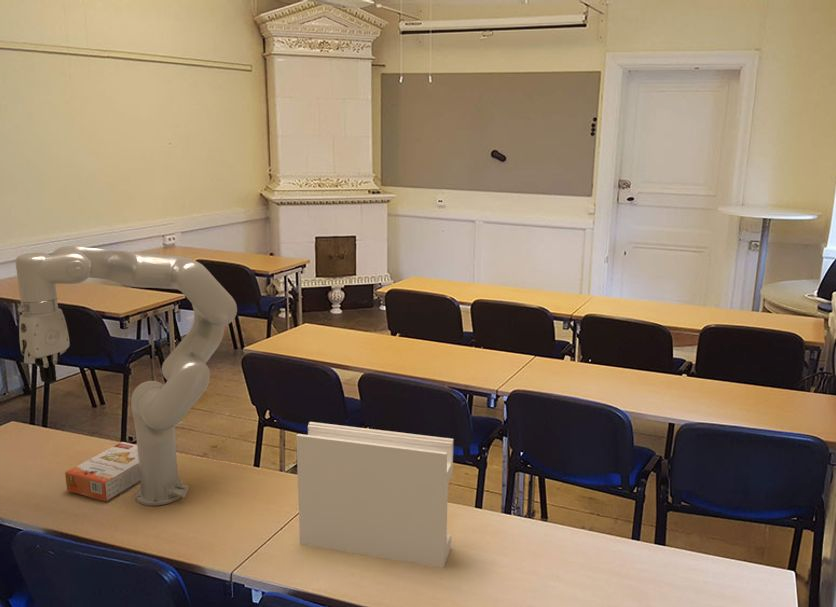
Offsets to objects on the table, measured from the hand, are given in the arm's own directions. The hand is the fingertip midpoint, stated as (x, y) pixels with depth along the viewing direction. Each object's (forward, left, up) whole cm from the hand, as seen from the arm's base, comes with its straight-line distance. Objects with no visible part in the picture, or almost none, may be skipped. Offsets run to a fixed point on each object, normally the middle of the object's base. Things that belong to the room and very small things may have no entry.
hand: (48, 381), depth 171 cm
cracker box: (+4, -10, -33) cm, 35 cm away
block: (-75, -22, -37) cm, 87 cm away
